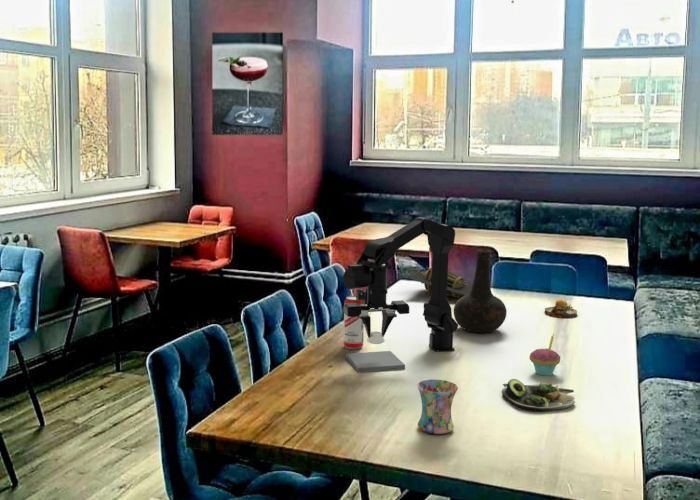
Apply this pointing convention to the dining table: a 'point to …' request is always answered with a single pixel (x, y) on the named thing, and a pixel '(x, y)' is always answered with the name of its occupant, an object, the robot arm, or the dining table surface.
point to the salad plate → (536, 396)
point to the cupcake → (545, 360)
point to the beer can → (353, 327)
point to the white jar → (375, 338)
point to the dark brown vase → (480, 301)
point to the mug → (436, 405)
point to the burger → (561, 310)
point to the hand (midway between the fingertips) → (375, 336)
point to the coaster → (375, 361)
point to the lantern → (453, 283)
